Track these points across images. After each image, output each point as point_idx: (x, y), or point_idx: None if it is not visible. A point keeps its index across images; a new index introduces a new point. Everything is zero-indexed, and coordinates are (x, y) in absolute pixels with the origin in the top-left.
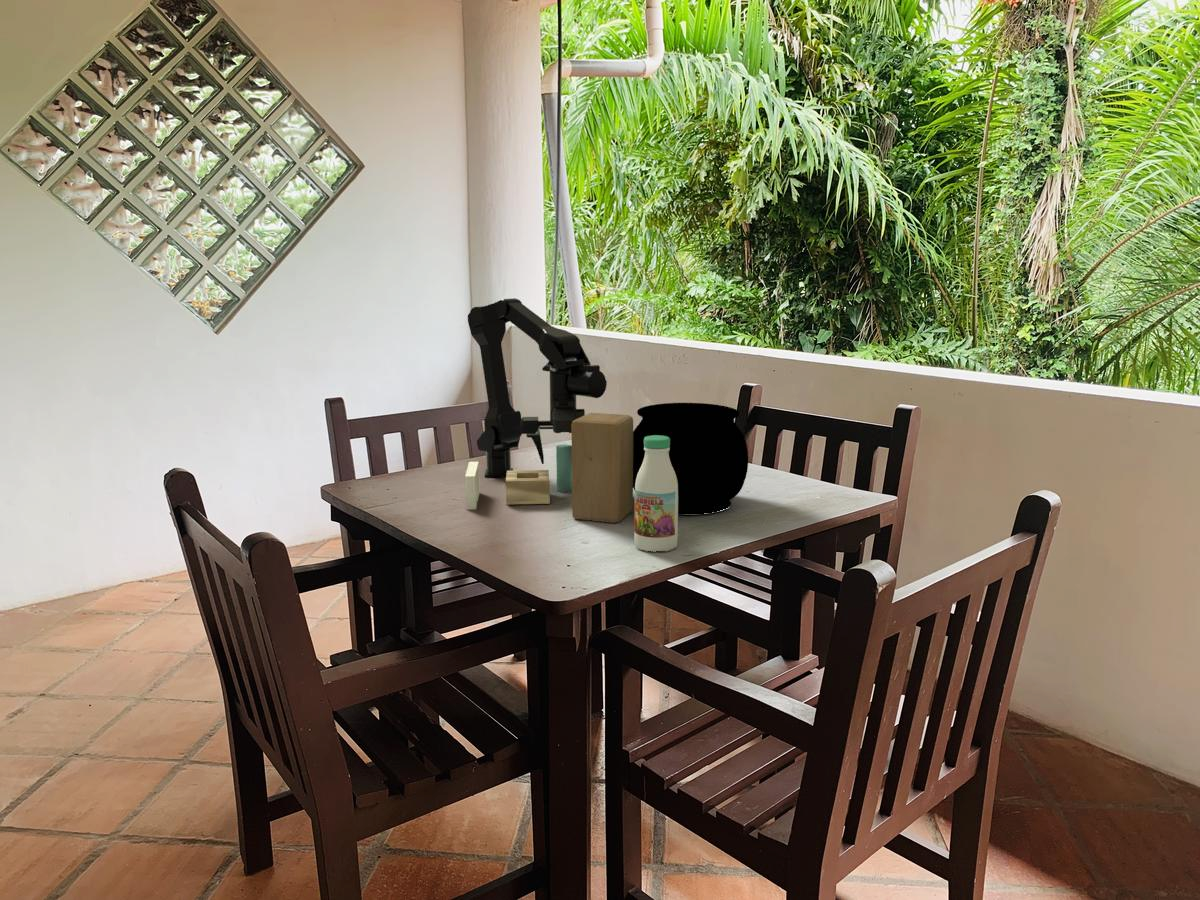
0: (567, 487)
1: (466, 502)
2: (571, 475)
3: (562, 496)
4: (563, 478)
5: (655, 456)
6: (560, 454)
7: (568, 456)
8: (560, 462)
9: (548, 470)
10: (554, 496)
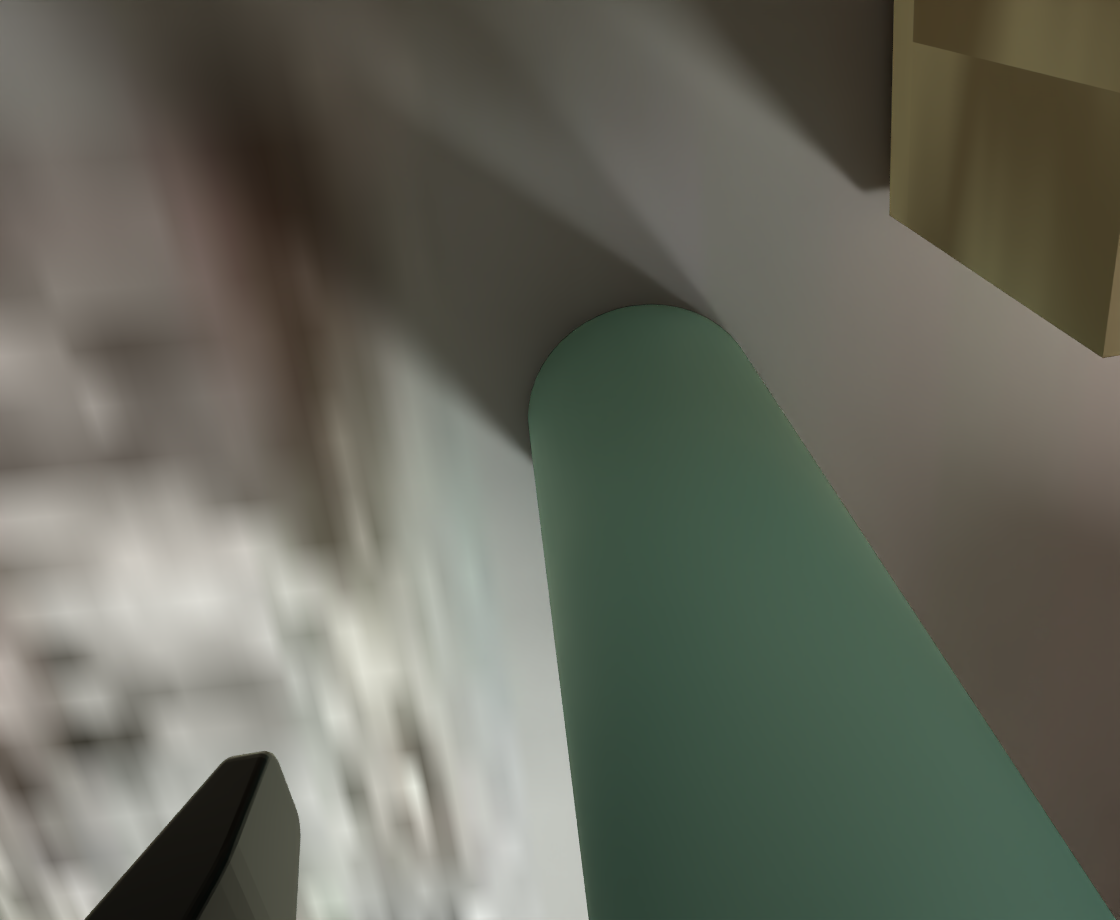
0: (598, 345)
1: None
2: (550, 514)
3: (653, 47)
4: (695, 395)
5: None
6: (955, 751)
7: (675, 747)
8: (861, 590)
9: (1111, 309)
10: (790, 38)
